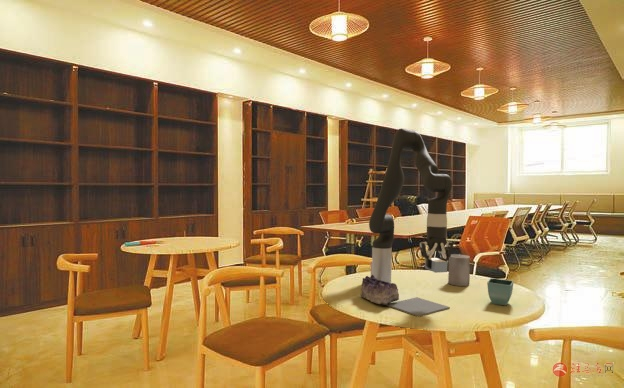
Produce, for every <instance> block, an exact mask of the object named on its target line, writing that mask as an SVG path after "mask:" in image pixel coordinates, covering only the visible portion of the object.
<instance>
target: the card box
mask: <svg viewBox="0 0 624 388" xmlns="http://www.w3.org/2000/svg"><path fill="white" fill-rule="evenodd" d="M431 260H432V268H431V269H428V268H427V267H426V258H424V269H426V270H428V271H430V272H433V273H434V274H435V273H448V261H447V260H446V261H444V260H441V259H440V258H438V257H432V258H431Z"/></svg>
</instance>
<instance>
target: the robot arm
mask: <svg viewBox="0 0 624 388" xmlns="http://www.w3.org/2000/svg"><path fill="white" fill-rule="evenodd" d="M393 136H394V137H393V141H392V146H391V151H390V156H389V160H388V163H387V167H386V170H385V174H384V177H383V180H382V183H381V188H380V191H379V194H378V197H377V200H376V203H375V206H374V208H373V210H372V213H371V214H370V218H369V223H368V228H369V231H370V232H371V233H372V234H374V235H375V234H376V235H377V234H378V235H379V236H378V237H377V238H376V239H374V240H373V241H372V242H371V243H372V250H371V251H372V252H371V253H372V254H371V256H372V257H371V258H372V259H371V261H370V277H371V276H372V275H373V276H374V277H375V278H377V279H378V280H381V281H384V282H389V283H392V262H393V261H392V256H393V254H392V253H393V252H392V248H393V247H392V246H393V243H394V240H395V239H394V237H395V236H394V235H395V221H394V218H393V216H392V215H391V214H387V212H388V209H389V208H390V206H391V205H392V204H393V203H394V202H395V201H396V199H397V198H399V195H400V194H401V192H402V189H403V185H404V183H405V175H404V170H403V167H402V162H401V161H402V160H401V159H402V153H403V151H407V152H408V151H409V152H413V153H414V154H415V155H416V156H415V159H414V164H415V167H416V169H417V170H418V172H419V174H420V175H421V178H422V183H423V188H424V189H425V190H426V191H428V192H429V193H430V192H431V193H437V196H436V197H435V196H434V197H432V198H430V199H428V201H427V215H426V240H425V241H421V242H419V243H418V245H419V250H420V255H421V257H422V258H424V259H425V258H426V267H427V268H428V269H431V268H432V260H431V258H433V255H434V254H435V252H438V253H439V257H440V258H439V259H441V260H444V261H446V262H447V259H449V257H450V256H451V254H452V253H453V252H452V251H453V247H454V244H455V243H454V242H452V241H448V240H447V236H448V235H447V234H448V231H447V230H448V217H447V213H448V212H447V207H448V205H447V204H448V201H449V197H450V193H451V191H452V187H453V180H452V178H451V176H450V175H449V174H445V173H439V167H438V166H437V164H436V162H435V161H434V160H433V158H432V157H431V155H430V154H429V151H428V150H427V146H426V145H425V142H424V140H423V138H422V136H421V134H420V132H418V131H416V130H413V129H407V128H399V129H397V130H396V132H395V134H394V135H393ZM426 247H427V248H426ZM445 247H446V248H445ZM428 269H427V270H428Z"/></svg>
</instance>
